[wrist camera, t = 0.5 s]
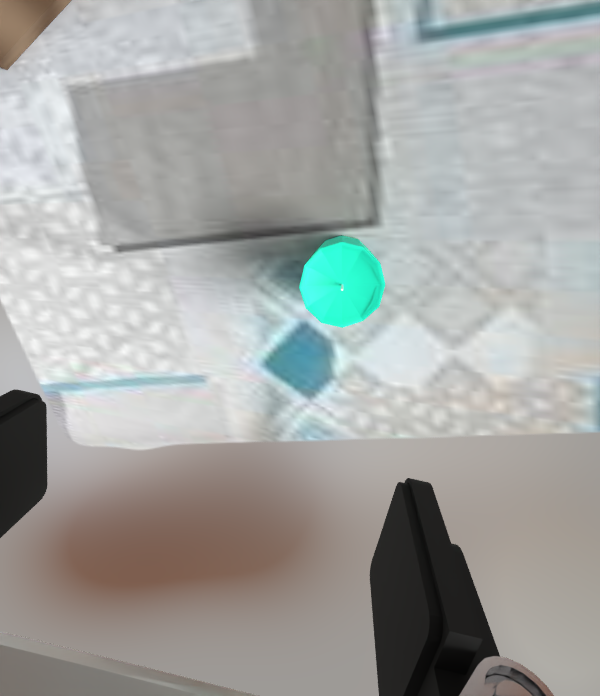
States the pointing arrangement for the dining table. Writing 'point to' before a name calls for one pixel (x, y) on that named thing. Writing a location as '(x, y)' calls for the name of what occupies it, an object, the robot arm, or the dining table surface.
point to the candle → (342, 282)
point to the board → (24, 25)
